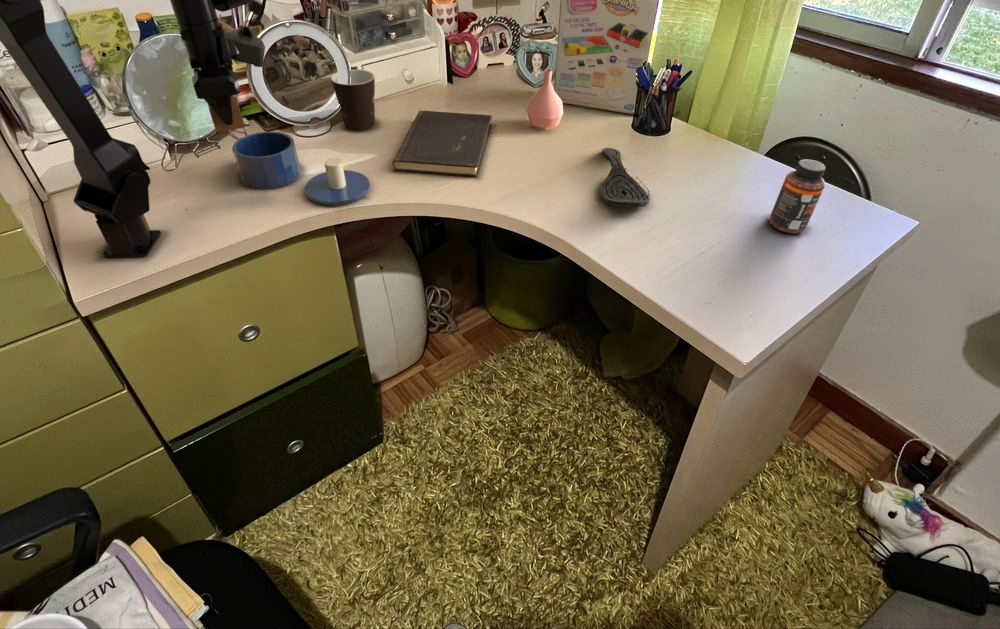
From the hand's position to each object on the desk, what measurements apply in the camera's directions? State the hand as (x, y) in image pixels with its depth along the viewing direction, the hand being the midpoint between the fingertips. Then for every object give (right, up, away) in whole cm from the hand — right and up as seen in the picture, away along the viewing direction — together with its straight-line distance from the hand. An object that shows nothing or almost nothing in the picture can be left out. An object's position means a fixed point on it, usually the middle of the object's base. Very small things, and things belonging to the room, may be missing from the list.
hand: (228, 119), depth 98 cm
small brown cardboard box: (0, -1, +1) cm, 1 cm away
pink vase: (+55, +7, +27) cm, 62 cm away
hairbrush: (+68, -9, +10) cm, 69 cm away
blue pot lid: (+17, -11, +5) cm, 21 cm away
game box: (+69, +16, +37) cm, 80 cm away
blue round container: (+4, -7, +9) cm, 12 cm away
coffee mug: (+16, +8, +27) cm, 33 cm away
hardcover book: (+35, +1, +19) cm, 40 cm away
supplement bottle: (+95, -18, +1) cm, 97 cm away
